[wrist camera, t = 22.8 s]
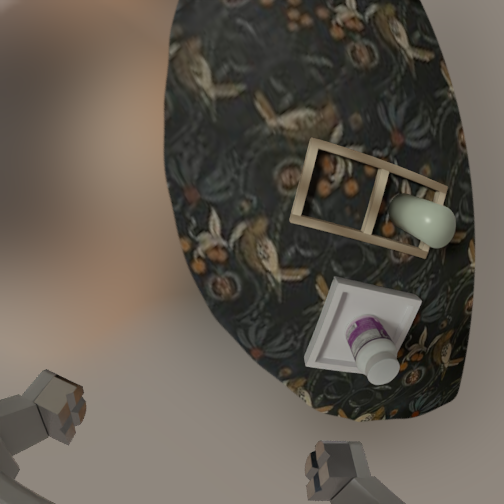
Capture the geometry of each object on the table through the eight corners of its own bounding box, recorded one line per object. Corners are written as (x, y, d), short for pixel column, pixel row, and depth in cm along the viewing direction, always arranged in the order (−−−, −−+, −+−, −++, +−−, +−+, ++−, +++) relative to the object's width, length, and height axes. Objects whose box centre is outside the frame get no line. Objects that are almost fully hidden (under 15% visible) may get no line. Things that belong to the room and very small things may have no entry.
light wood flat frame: (310, 138, 33) (312, 137, 32) (443, 185, 34) (447, 186, 32) (289, 220, 36) (290, 222, 35) (421, 256, 37) (425, 258, 35)
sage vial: (394, 189, 34) (429, 200, 26) (421, 199, 34) (460, 213, 26) (384, 222, 35) (416, 242, 27) (412, 231, 36) (447, 252, 27)
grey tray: (334, 276, 38) (338, 282, 36) (415, 294, 38) (422, 301, 36) (304, 356, 42) (305, 366, 40) (380, 367, 42) (384, 375, 40)
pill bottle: (384, 334, 39) (409, 375, 30) (351, 350, 40) (369, 396, 31) (373, 305, 38) (399, 346, 29) (338, 324, 39) (356, 368, 30)
